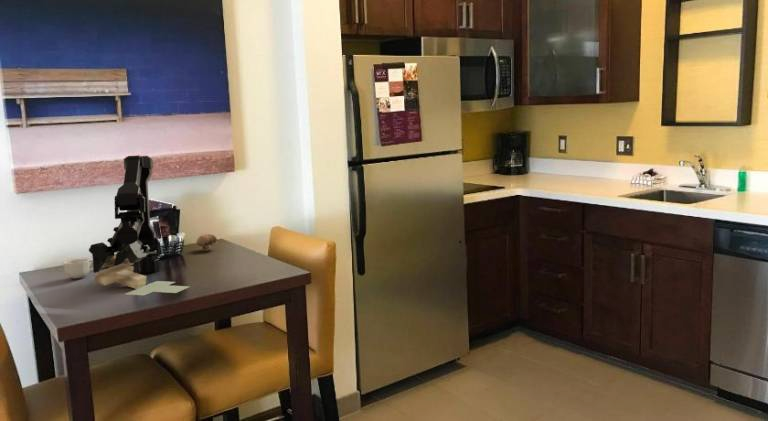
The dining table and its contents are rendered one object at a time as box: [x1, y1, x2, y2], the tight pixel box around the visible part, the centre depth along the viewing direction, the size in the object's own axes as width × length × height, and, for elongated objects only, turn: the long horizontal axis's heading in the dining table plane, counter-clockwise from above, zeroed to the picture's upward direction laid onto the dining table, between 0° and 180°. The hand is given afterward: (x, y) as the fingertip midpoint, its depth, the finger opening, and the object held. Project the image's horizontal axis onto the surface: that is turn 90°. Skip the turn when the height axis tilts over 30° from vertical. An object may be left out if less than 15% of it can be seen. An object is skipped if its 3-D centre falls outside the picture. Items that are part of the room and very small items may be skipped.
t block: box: [94, 263, 147, 290], centre depth 189 cm, size 12×12×3 cm
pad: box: [124, 280, 191, 296], centre depth 186 cm, size 15×15×1 cm
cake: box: [103, 253, 135, 268], centre depth 220 cm, size 10×10×5 cm
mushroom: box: [196, 233, 218, 252], centre depth 240 cm, size 8×8×6 cm
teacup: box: [62, 258, 93, 279], centre depth 205 cm, size 10×8×5 cm
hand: (105, 269), depth 191 cm, fingers open, 9 cm apart
